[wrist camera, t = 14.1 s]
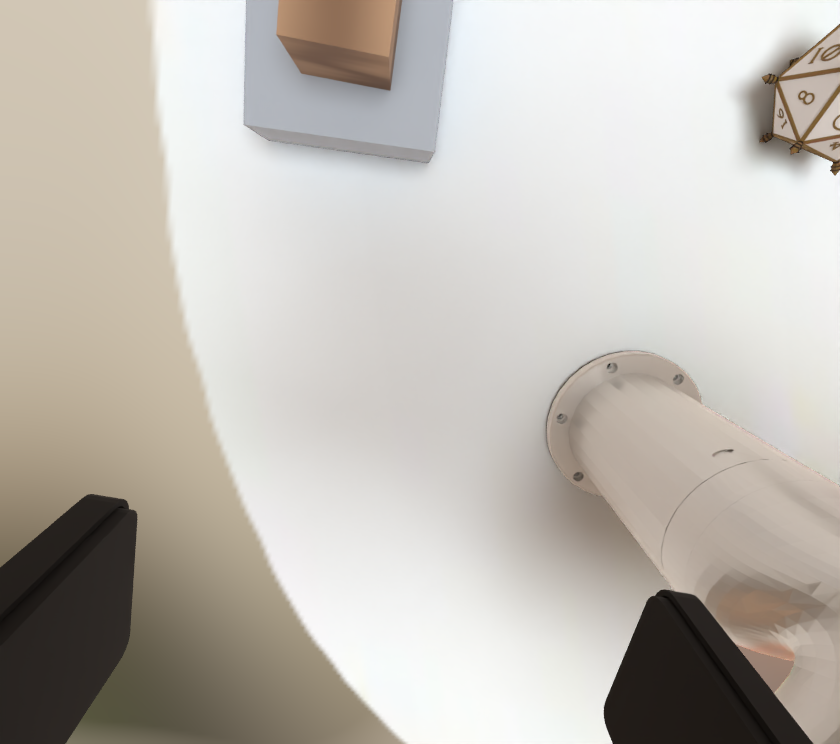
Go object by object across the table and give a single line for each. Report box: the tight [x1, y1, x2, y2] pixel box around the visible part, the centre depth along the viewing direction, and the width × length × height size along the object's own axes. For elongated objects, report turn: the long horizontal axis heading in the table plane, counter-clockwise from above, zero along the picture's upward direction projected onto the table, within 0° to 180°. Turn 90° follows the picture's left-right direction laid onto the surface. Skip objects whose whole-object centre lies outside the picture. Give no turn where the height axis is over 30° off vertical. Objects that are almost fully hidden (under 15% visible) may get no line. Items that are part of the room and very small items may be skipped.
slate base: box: [244, 0, 453, 163], centre depth 30 cm, size 11×11×6 cm
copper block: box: [276, 0, 402, 91], centre depth 24 cm, size 5×5×6 cm
